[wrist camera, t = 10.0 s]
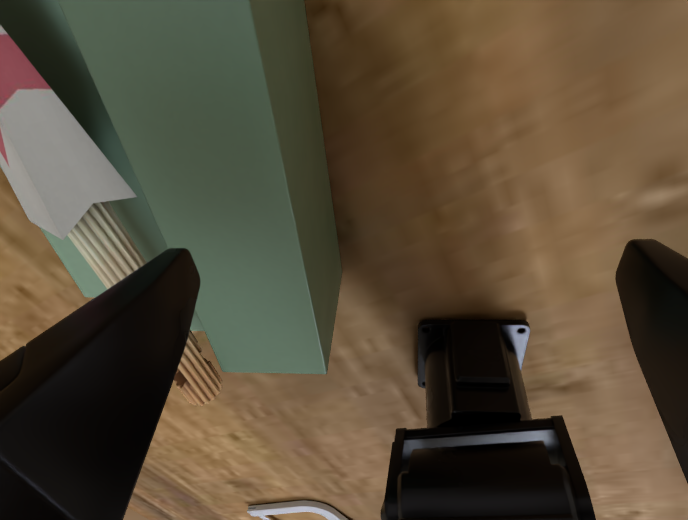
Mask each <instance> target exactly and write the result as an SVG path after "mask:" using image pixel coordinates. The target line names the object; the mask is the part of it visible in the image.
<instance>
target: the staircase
mask: <svg viewBox="0 0 688 520" xmlns="http://www.w3.org/2000/svg"><path fill="white" fill-rule="evenodd" d="M0 25H1V26H2V27H3V29H4V30H5V31H6V32H7V34H8V35H9V36H10V37H11V39H12V40H13V41H14V42H15V44H16V45H17V46H18V47H19V49H20V50H21V51H22V52H23V54H24V55H25V56H26V58H27V59H28V60H29V61H30V63H31V64H32V65H33V66H34V68H35V69H36V70H37V71H38V73H39V74H40V75H41V76H42V78H43V79H44V80H45V81H46V83H47V84H48V85H49V86H50V88H51V89H52V90H53V91H54V93H55V94H56V95H57V96H58V98H59V99H60V100H61V101H62V103H63V104H64V105H65V107H66V108H67V109H68V110H69V112H70V113H71V114H72V115H73V117H74V118H75V119H76V120H77V122H78V123H79V124H80V125H81V127H82V128H83V129H84V130H85V132H86V133H87V134H88V135H89V137H90V138H91V139H92V140H93V142H94V143H95V144H96V145H97V147H98V148H99V149H100V150H101V152H102V153H103V154H104V155H105V157H106V158H107V159H108V161H109V162H110V163H111V164H112V166H113V167H114V168H115V169H116V171H117V172H118V173H119V174H120V176H121V177H122V178H123V179H124V181H125V182H126V183H127V184H128V186H129V187H130V188H131V189H132V191H133V192H134V193H135V194H136V196H137V197H134V198H127V199H120V200H113V201H109V203H110V205H111V206H112V208H113V210H114V211H115V213H116V214H117V216H118V218H119V219H120V221H121V222H122V224H123V226H124V227H125V229H126V231H127V232H128V234H129V235H130V237H131V239H132V240H133V242H134V244H135V245H136V247H137V248H138V250H139V251H140V253H141V254H142V256H143V257H144V259H145V260H146V262H149V261H150V260H152V259H153V258H155V257H156V256H158V255H159V254H161V253H162V252H164V251H165V250H167V249H169V248H186V249H188V250H189V251H190V253H191V255H192V258H193V260H194V262H195V265H196V267H197V270H198V272H199V275H200V281H201V283H200V289H199V293H198V298H197V302H196V306H195V310H194V315H193V319H192V323H191V327H190V330H191V331H205V333H206V335H207V337H208V340H209V342H210V344H211V346H212V349H213V351H214V353H215V355H216V358H217V360H218V362H219V364H220V367H221V369H222V371H223V372H252V373H300V374H327V370H328V363H329V356H330V350H331V343H332V336H333V330H334V323H335V317H336V310H337V303H338V297H339V290H340V284H341V277H342V267H341V260H340V253H339V245H338V238H337V231H336V224H335V217H334V210H333V202H332V195H331V188H330V181H329V174H328V167H327V160H326V152H325V145H324V138H323V131H322V124H321V117H320V109H319V102H318V95H317V88H316V81H315V74H314V67H313V59H312V52H311V45H310V38H309V31H308V24H307V16H306V9H305V2H304V0H0ZM0 167H1V165H0ZM1 168H2V167H1ZM2 170H3V169H2ZM40 229H41V230H42V232H43V233H44V235H45V236H46V238H47V239H48V241H49V242H50V244H51V245H52V247H53V249H54V250H55V252H56V253H57V255H58V256H59V258H60V259H61V261H62V262H63V264H64V265H65V267H66V269H67V270H68V272H69V273H70V275H71V276H72V278H73V279H74V281H75V282H76V284H77V286H78V287H79V289H80V290H81V292H82V293H83V295H84V296H85V297H97V296H98V295H100V294H101V293H103V292H104V291H106V290H107V288H106V286H105V285H104V284H103V282H102V281H101V280H100V278H99V277H98V276H97V274H96V273H95V271H94V270H93V269H92V267H91V266H90V265H89V263H88V262H87V261H86V259H85V258H84V257H83V255H82V254H81V253H80V251H79V250H78V249H77V247H76V246H75V245H74V243H73V242H72V241H71V239H70V238H69V237H68V235H67V236H66V237H65V238H64V240H62V239H60V238H58V237H57V236H55V235H53V234H51V233H50V232H48V231H46V230H44V229H43V228H41V227H40Z"/></svg>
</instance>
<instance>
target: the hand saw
mask: <svg viewBox="0 0 688 520" xmlns="http://www.w3.org/2000/svg"><path fill="white" fill-rule="evenodd" d="M247 512H248V513H250V515H251V516H253V517H254V516H259V517H260V518H262V519H263V520H270V519H268V518H267V517H265V515H275V514H285V513H296V512H314V513H318V514H321V515H322V516H324V517H326V518H327V519H329V520H348V519H347V518H346V517H344V516H343V515H342V514H340V513H339V512H338V511H336V510H335V509H334V508H332V507H330V506H328V505H326V504H323V503H320V502H315V501H306V500H302V501H292V502H283V503H273V504H263V505H254V506H248V510H247Z"/></svg>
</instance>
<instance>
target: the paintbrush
mask: <svg viewBox="0 0 688 520" xmlns="http://www.w3.org/2000/svg"><path fill="white" fill-rule="evenodd" d="M0 165H1V167H2V169H3V171H4V173H5V175H6V177H7V179H8V181H9V183H10V184H11V186H12V188H13V190H14V192H15V194H16V196H17V198H18V200H19V202H20V204H21V205H22V207H23V209H24V211H25V213H26V215H27V217H28V219H29V221H30V222H32V223H34V224H36V225H37V226H39V227H41V228H43V229H44V230H46V231H48V232H50V233H51V234H53V235H55V236H57V237H58V238H60V239H62V240H64V238H65V237H66V236H67V235H68V237H69V238H70V239H71V241H72V242H73V243H74V245H75V246H76V247H77V249H78V250H79V251H80V253H81V254H82V255H83V257H84V258H85V259H86V261H87V262H88V263H89V265H90V266H91V267H92V269H93V270H94V271H95V273H96V274H97V276H98V277H99V278H100V280H101V281H102V282H103V284H104V285H105V286H106V288H107V289H109V288H110V287H112V286H113V285H115V284H116V283H118V282H119V281H121V280H122V279H124V278H125V277H126V276H128V275H129V274H131V273H132V272H134V271H135V270H137V269H138V268H140V267H141V266H143V265H144V264H146V263H147V262H146V260H145V259H144V257H143V256H142V254H141V253H140V251H139V250H138V248H137V247H136V245H135V244H134V242H133V240H132V239H131V237H130V235H129V234H128V232H127V231H126V229H125V227H124V226H123V224H122V222H121V221H120V219H119V218H118V216H117V214H116V213H115V211H114V210H113V208H112V206H111V205H110V203H109V201H113V200H120V199H127V198H134V197H137V196H136V194H135V193H134V192H133V191H132V189H131V188H130V187H129V186H128V184H127V183H126V182H125V181H124V179H123V178H122V177H121V176H120V174H119V173H118V172H117V171H116V169H115V168H114V167H113V166H112V164H111V163H110V162H109V161H108V159H107V158H106V157H105V155H104V154H103V153H102V152H101V150H100V149H99V148H98V147H97V145H96V144H95V143H94V142H93V140H92V139H91V138H90V137H89V135H88V134H87V133H86V132H85V130H84V129H83V128H82V127H81V125H80V124H79V123H78V122H77V120H76V119H75V118H74V117H73V115H72V114H71V113H70V112H69V110H68V109H67V108H66V107H65V105H64V104H63V103H62V101H61V100H60V99H59V98H58V96H57V95H56V94H55V93H54V91H53V90H52V89H51V88H50V86H49V85H48V84H47V83H46V81H45V80H44V79H43V78H42V76H41V75H40V74H39V73H38V71H37V70H36V69H35V68H34V66H33V65H32V64H31V63H30V61H29V60H28V59H27V58H26V56H25V55H24V54H23V52H22V51H21V50H20V49H19V47H18V46H17V45H16V44H15V42H14V41H13V40H12V39H11V37H10V36H9V35H8V34H7V32H6V31H5V30H4V29H3V27H2V26H1V25H0ZM197 343H198V341H197V340H196V338H195V337H194V335H193V334H192V332H191V330H190V331H189V336H188V339H187V343H186V346H185V349H184V352H183V355H182V358H181V361H180V363H179V366H178V369H177V372H176V374H175V377H174V380H175V382H176V383H177V384H176V385H177V387H178V388H179V390H180V391H181V393H182V394H183V395H184V397H185V398H186V400H187V401H188V402H189V403H190V404H193V405H195V406H196V405H199V406H202V405H203V404H204V403H205V404H208V403H209V402H210V400H214V399H215V396H216V395H218V394H219V393H220V391H219V390H221V389H222V380H221V378H220V376H219V375H218V373H217V371H216V370H215V368H214V367H213V365H212V364H211V362H210V361H207V360H206V359H205V358H203V357H202V355H201V354H200V352H201V348H200V347H199V345H198V344H197Z"/></svg>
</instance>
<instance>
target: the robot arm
mask: <svg viewBox="0 0 688 520" xmlns="http://www.w3.org/2000/svg"><path fill="white" fill-rule="evenodd" d="M200 283H201V281H200V275H199V272H198V270H197V267H196V265H195V262H194V260H193V258H192V255H191V253H190V251H189V250H188V249H186V248H169V249H167V250H165V251H164V252H162V253H161V254H159V255H158V256H156V257H155V258H153V259H152V260H150V261H149V262H147V263H146V264H144V265H143V266H141V267H140V268H138V269H137V270H135V271H134V272H132V273H131V274H129V275H128V276H126V277H125V278H124V279H122V280H121V281H119V282H118V283H116V284H115V285H113V286H112V287H110V288H109V289H107V290H106V291H104V292H103V293H101V294H100V295H98V296H97V297H95V298H94V299H92V300H91V301H89V302H88V303H86V304H85V305H83V306H82V307H80V308H79V309H77V310H76V311H74V312H73V313H71V314H70V315H68V316H67V317H65V318H64V319H62V320H61V321H59V322H58V323H57V324H55V325H54V326H52V327H51V328H49V329H48V330H46V331H45V332H43V333H42V334H40V335H39V336H37V337H36V338H34V339H33V340H31V341H30V342H28V343H27V344H26V347H25V346H22V347H21V348H19V349H18V350H16V351H15V352H13V353H12V354H10V355H9V356H7V357H6V358H4V359H3V360H1V361H0V520H123V518H124V515H125V512H126V509H127V507H128V504H129V501H130V499H131V496H132V493H133V490H134V488H135V485H136V482H137V479H138V477H139V474H140V471H141V468H142V465H143V463H144V460H145V457H146V454H147V452H148V449H149V446H150V443H151V441H152V438H153V435H154V432H155V430H156V427H157V424H158V421H159V419H160V416H161V413H162V410H163V408H164V405H165V402H166V399H167V396H168V394H169V391H170V388H171V385H172V383H173V380H174V377H175V374H176V372H177V369H178V366H179V363H180V361H181V358H182V355H183V352H184V349H185V346H186V343H187V339H188V336H189V331H190V327H191V323H192V319H193V315H194V310H195V306H196V302H197V298H198V293H199V289H200ZM616 285H617V289H618V292H619V296H620V300H621V304H622V308H623V312H624V315H625V319H626V323H627V327H628V331H629V334H630V338H631V342H632V345H633V348H634V351H635V354H636V357H637V359H638V362H639V364H640V367H641V369H642V372H643V374H644V377H645V379H646V382H647V384H648V387H649V389H650V392H651V394H652V397H653V399H654V401H655V404H656V406H657V409H658V411H659V414H660V416H661V419H662V421H663V424H664V426H665V429H666V431H667V434H668V436H669V438H670V441H671V443H672V446H673V448H674V451H675V453H676V456H677V458H678V461H679V463H680V466H681V468H682V471H683V473H684V476H685V478H686V480H687V483H688V259H687V258H686V257H684V256H682V255H681V254H679V253H677V252H675V251H674V250H672V249H670V248H668V247H667V246H665V245H663V244H662V243H660V242H658V241H656V240H654V239H633V240H630V241H629V242H628V243H627V244H626V246H625V249H624V252H623V254H622V257H621V260H620V262H619V265H618V268H617V271H616ZM426 327H427V328H426ZM519 328H521V329H519ZM529 334H530V327H529V324H528V322H526V321H524V320H422V321H420V322H419V323H418V385H419V386H420V387H422V388H426V411H427V428H421V429H408V430H407V429H406V428H400V429H396V435H395V442H393V443H392V450H391V458H390V465H389V472H388V479H387V486H386V493H385V499H384V502H383V506H382V509H381V520H596V518H595V514H594V510H593V506H592V502H591V499H590V495H589V492H588V488H587V485H586V482H585V479H584V476H583V473H582V471H581V468H580V465H579V462H578V459H577V456H576V454H575V451H574V448H573V445H572V442H571V439H570V437H569V434H568V431H567V428H566V425H565V422H564V420H563V417H562V415H561V416H551V418H546V419H533V420H532V418H531V413H530V409H529V405H528V400H527V396H526V392H525V387H524V383H523V379H522V374H521V368H522V364H523V359H524V355H525V351H526V347H527V342H528V338H529Z"/></svg>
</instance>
